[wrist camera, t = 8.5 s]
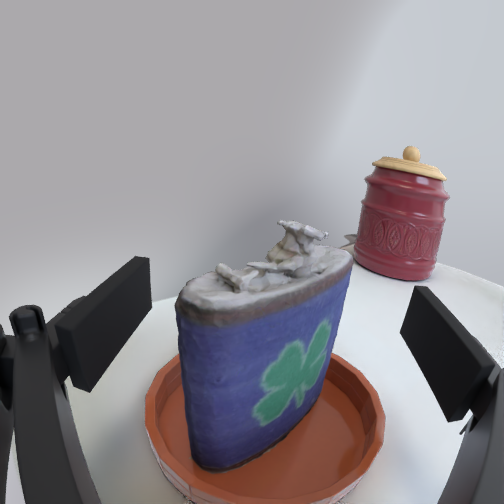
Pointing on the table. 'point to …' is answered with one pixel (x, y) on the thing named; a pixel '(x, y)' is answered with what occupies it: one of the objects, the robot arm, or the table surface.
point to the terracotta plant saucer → (285, 453)
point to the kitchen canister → (401, 217)
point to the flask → (258, 346)
